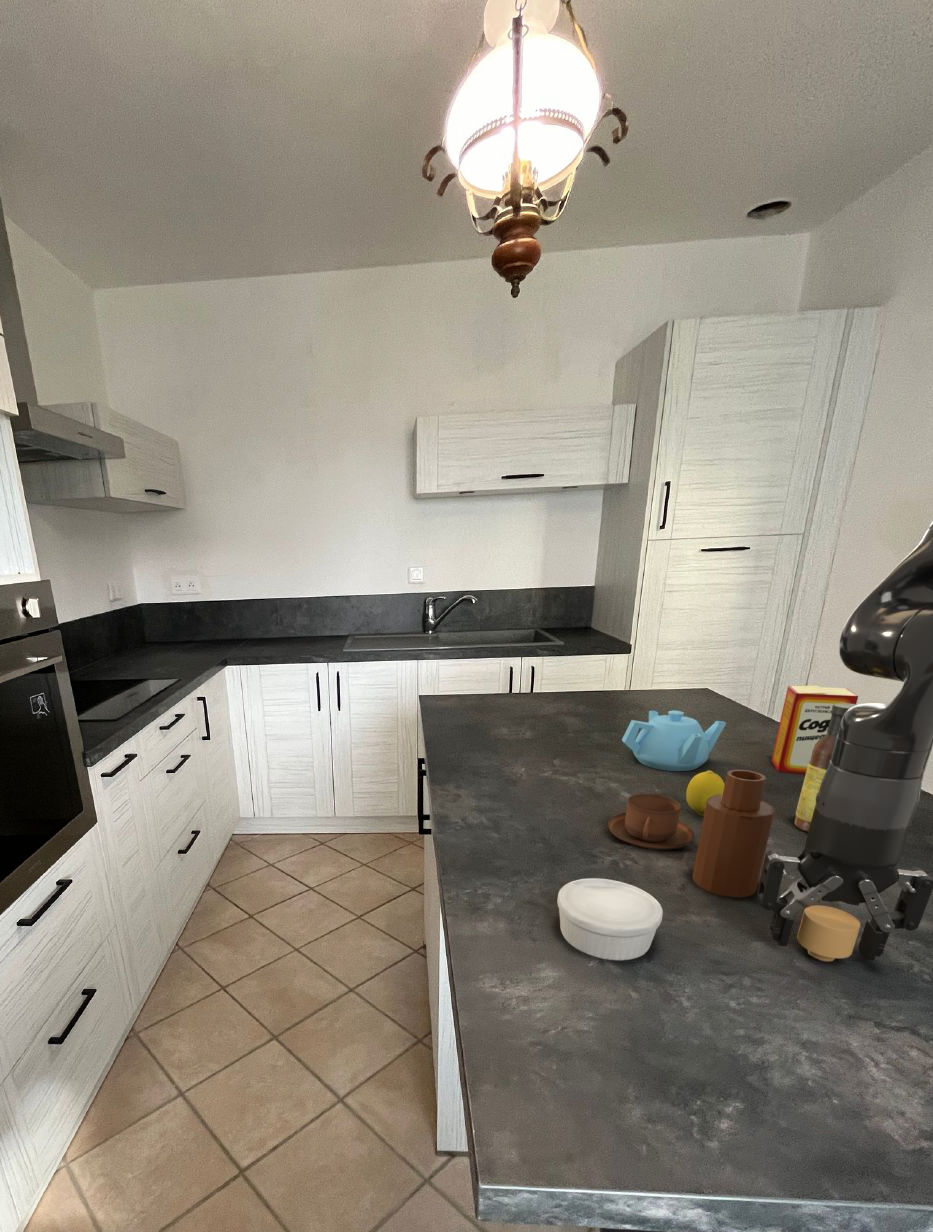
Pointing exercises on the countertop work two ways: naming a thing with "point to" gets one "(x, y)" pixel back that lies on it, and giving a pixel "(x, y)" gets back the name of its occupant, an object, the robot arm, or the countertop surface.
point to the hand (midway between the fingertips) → (822, 948)
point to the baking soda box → (805, 724)
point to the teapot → (671, 741)
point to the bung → (828, 932)
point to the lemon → (703, 790)
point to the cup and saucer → (651, 823)
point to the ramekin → (608, 918)
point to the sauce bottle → (818, 768)
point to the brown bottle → (734, 836)
